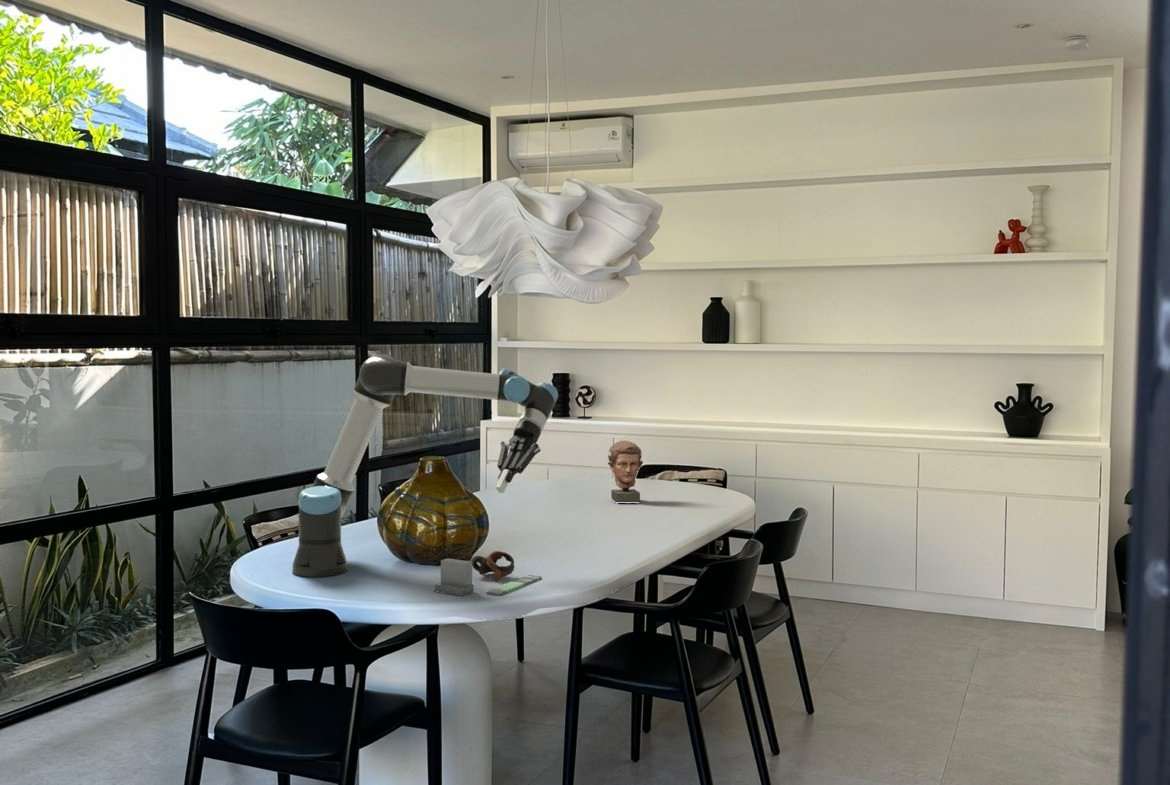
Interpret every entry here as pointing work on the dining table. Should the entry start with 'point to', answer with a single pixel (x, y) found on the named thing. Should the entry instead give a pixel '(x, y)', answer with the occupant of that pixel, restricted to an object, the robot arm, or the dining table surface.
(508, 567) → the pottery mug
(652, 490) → the dining table surface
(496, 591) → the gauge strip
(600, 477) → the dining table surface
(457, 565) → the striated grey slab
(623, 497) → the bust
